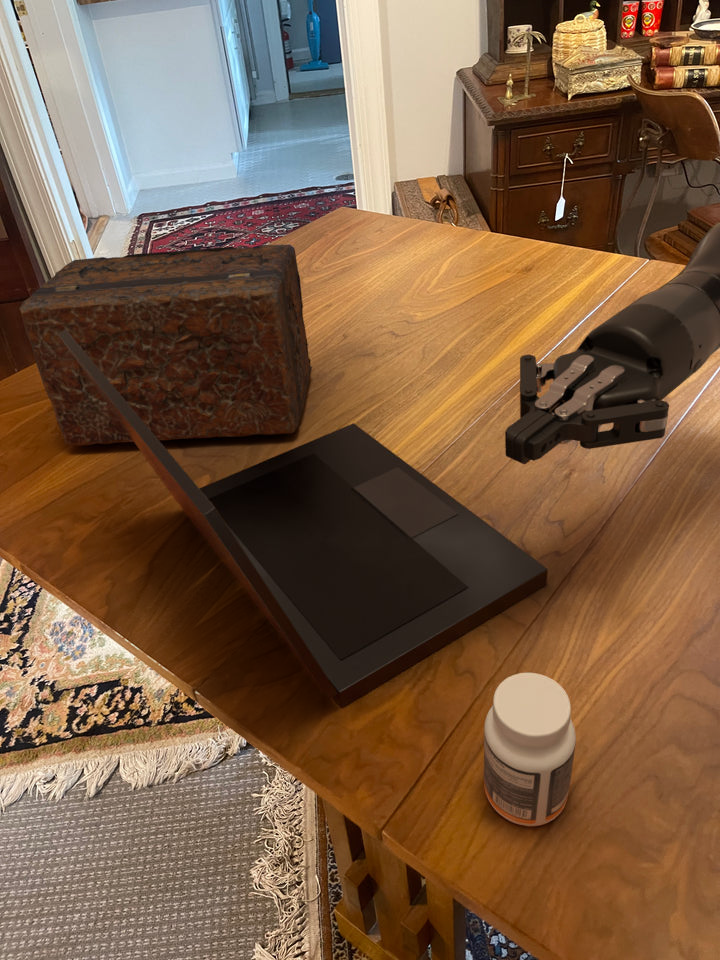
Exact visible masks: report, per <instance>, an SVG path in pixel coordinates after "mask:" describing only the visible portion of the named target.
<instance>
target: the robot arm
mask: <svg viewBox="0 0 720 960" xmlns="http://www.w3.org/2000/svg"><path fill="white" fill-rule="evenodd" d="M719 349H720V221H719V222H717V223H716V224H714V225H713V226H712V227H711V228H710V229H709V230H708V231H707V232H706V233H705V234H704V235H703V236H702V238H701V239H700V240H699V242H698V243H697V246H696V247H695V248H694V250H693V251H692V254H691V256H690V257H689V259H688V262H687V263H686V265H685V266H684V268H683V269H682V270H681V271H680V272H679V273H678V274H677V275H676V276H674V277H673V278H672V279H670V280H669V281H667V282H666V283H664V284H663V285H661V286H660V287H659V288H657V289H655V290H653V291H650V292H648V293H646V294H643V295H642V296H640V297H639V298H637V299H635V301H633V302H631V303H630V304H629V305H627V306H625V307H624V308H623V309H621V310H620V311H618V312H617V313H615V314H614V315H613V316H611V317H609V318H608V319H607V320H605V321H604V322H602V323H601V324H599V325H598V326H597V327H595V328H594V329H592V330H591V331H590V332H589V333H588V334H587V335H586V337H585V338H584V339H583V340H582V341H581V343H580V345H579V346H578V347H577V348H576V350H574V351H571V352H569V353H565V354H562V355H559V356H558V357H556V359H555V360H554V362H550V363H549V362H547V363H544V362H543V363H537V358H536V356H535V355H533V354H524V355H522V356H520V357H519V418H518V419H517V420H516V421H514V422H513V423H511V424H510V425H509V426H508V427H507V428H506V430H505V432H504V446H505V447H504V448H505V457H507V458H509V459H511V460H513V461H516V462H517V463H520V464H522V465H526V464H527V463H528V464H529V462H530V461H532V462H534V461H538V460H540V459H542V458H543V457H544V456H545V455H547V454H548V453H549V452H551V451H552V450H553V449H555V447H557V446H558V445H559V444H560V445H565V444H568V443H570V442H571V441H574V442H575V441H576V442H579V446H580V447H582V448H583V449H586V450H589V449H590V450H592V449H600V448H605V447H606V448H607V447H612V446H619V445H624V444H625V445H626V444H631V443H632V444H633V443H638V442H643V441H644V442H645V441H652V440H658V439H662V438H663V437H665V434H666V429H667V425H668V419H669V411H670V404H669V402H667V401H666V400H664V399H665V398H666V397H667V396H669V395H671V393H672V392H674V391H675V390H676V389H677V388H678V387H679V386H680V385H682V384H683V383H684V382H685V381H686V380H688V379H689V378H690V377H691V376H693V375H694V374H695V373H696V372H698V371H699V369H701V368H702V367H703V365H704V364H705V363H706V362H707V361H708V360H709V358H710V357H711V356H712V355H713V354H714V353H716V352H717V351H718V350H719ZM550 380H552V382H551V383H550V385H549V387H548V390H547V391H546V392H545V393H543V394H542V395H541V396H540V397H539V396H538V394H539V393H542V388H543V387H545V386H546V385H547V383H548V381H550ZM608 424H609V425H610V424H613V425H612V427H611V429H609V430H608V429H607V430H602V431H599V428H600V427H601V426H603V425H608Z"/></svg>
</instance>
